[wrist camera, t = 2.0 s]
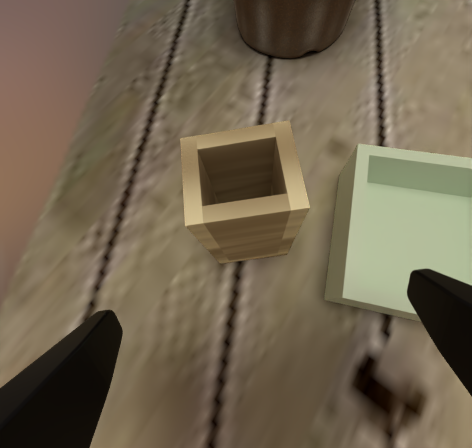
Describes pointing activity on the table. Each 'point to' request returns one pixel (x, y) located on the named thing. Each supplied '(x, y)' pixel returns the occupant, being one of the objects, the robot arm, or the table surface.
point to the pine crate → (244, 191)
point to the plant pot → (291, 24)
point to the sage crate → (398, 226)
